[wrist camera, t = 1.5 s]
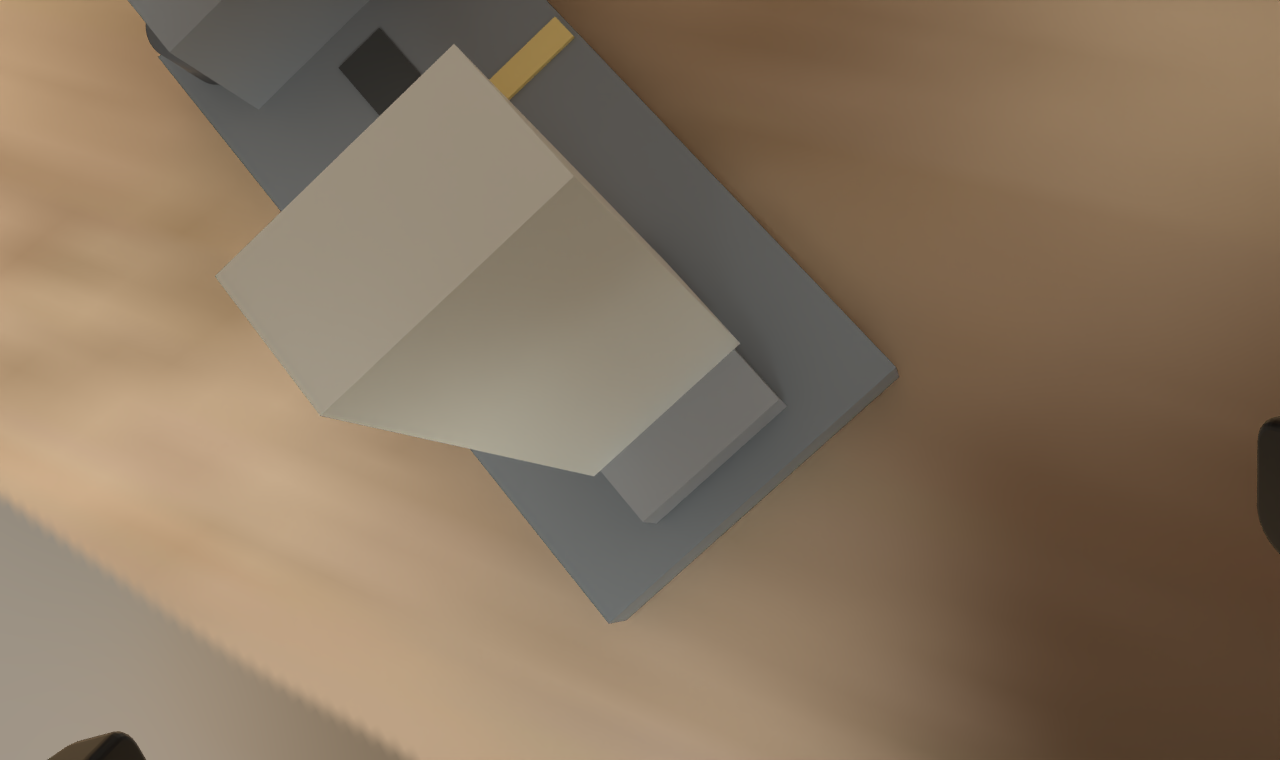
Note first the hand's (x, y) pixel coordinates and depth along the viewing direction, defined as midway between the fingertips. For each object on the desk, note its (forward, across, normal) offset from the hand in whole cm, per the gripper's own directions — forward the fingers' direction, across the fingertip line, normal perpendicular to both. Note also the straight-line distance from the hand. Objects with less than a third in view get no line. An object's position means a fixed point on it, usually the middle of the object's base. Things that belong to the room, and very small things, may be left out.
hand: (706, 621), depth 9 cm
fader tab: (+12, 0, -4) cm, 13 cm away
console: (+17, -2, -2) cm, 17 cm away
